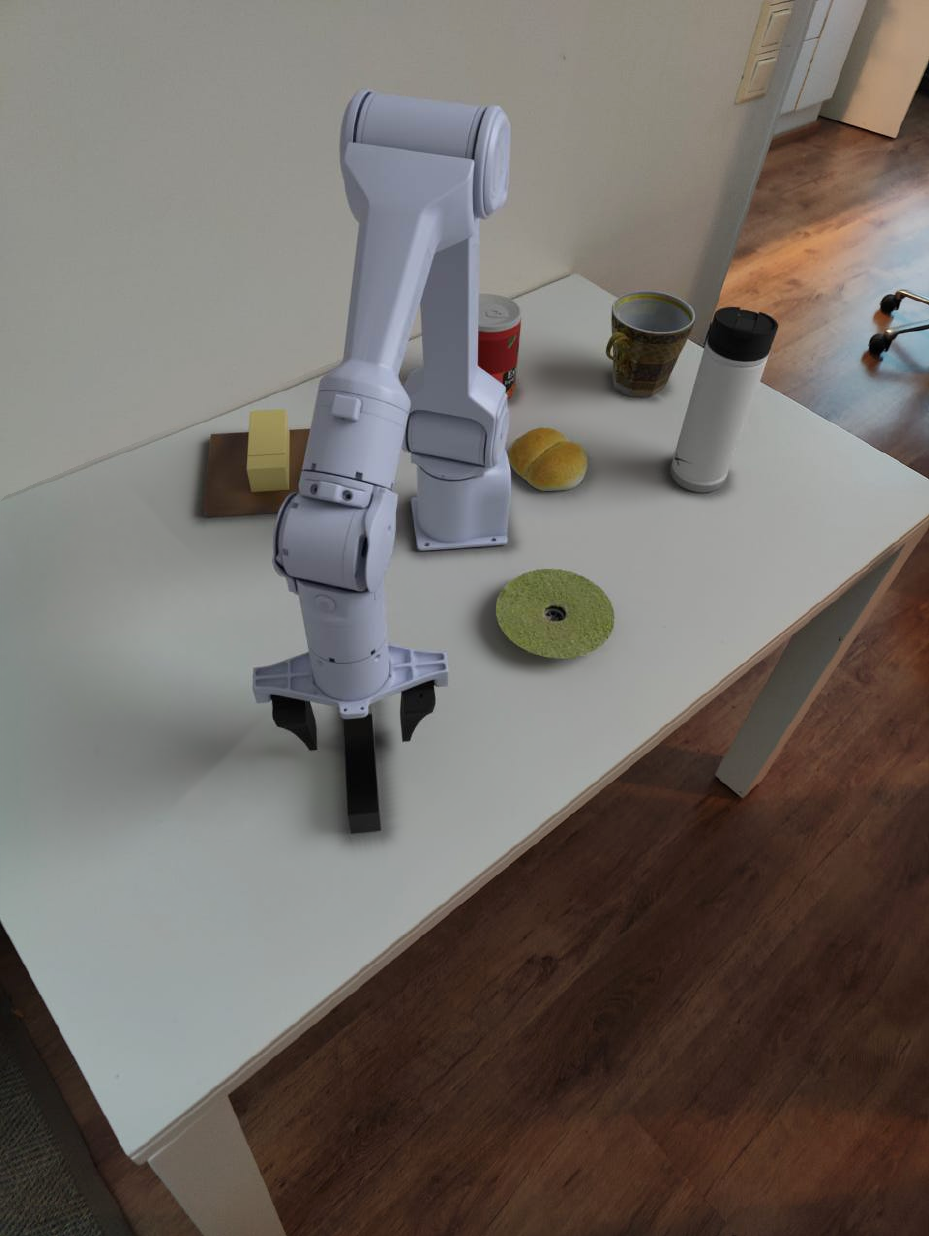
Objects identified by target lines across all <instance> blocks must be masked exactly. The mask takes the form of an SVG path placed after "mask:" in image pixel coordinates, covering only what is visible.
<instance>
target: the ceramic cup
mask: <svg viewBox="0 0 929 1236" xmlns="http://www.w3.org/2000/svg"><path fill="white" fill-rule="evenodd" d="M610 317H611V320H610V321H611V336H610V337H609V339H608V341H607V345H606V347H605V355H606V357H607V359H609V360H611V361H612V379H613V385H614V389H616V390H617V391H619V392H621V393H622V394H624V395H626V396H628V397H631V398H652V397H653V396H655V395H657V394H658V393H660V392H662V391H663V390H664V389H665V388H666V386H667V383H668V382H669V379H670V377H671V375H672V372H673V371H674V368H675V366H676V364H677V362H678V360H679V357H680V355H681V353H682V351H683V349H684V347H685V345H686V343H687V342H688V339H689V337H690V335H691V333H692V330H693V326H694V324H695V323H696V312H695V310H694V308H693V307H692V306H691V305H690V303H688V302H687V301H685V300H684V299H681V298H679V297H678V296H675V295H672V294H671V293H670V294H669V293H666V292H661V291H656V290H655V291H654V290H637V291H631V292H628V293H625V294H622V295H620V296H618V297H617V298H616V299H615V300H614V301H613V303H612V305H611V316H610ZM611 351H612V353H611Z"/></svg>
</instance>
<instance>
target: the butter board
mask: <svg viewBox="0 0 929 1236" xmlns="http://www.w3.org/2000/svg"><path fill="white" fill-rule="evenodd" d="M289 432H290V435H289V490H279V491H263V492H251V487H250V483H249V478H248V474H247V457H248V456H247V453H248V437H249V431H242V432H222V433H210V439H209V446H208V448H209V449H208V455H207V456H208V458H207V465H206V473H205V474H206V475H205V484H204V493H203V502H202V503H203V504H202V513H203V516H204V518H217V517H230V516H232V517H233V516H247V515H263V514H278V512H279V510H280V507H281V505H282V503H283V502H284V500H285V499H286V497H287V496H288V495H289V494H291V493H293V492H297V493H299V481H300V476H301V472H302V467H303V462H304V457H305V452H306V447H307V442H308V437H309V432H310V428H297V429H296V428H294V429H289Z"/></svg>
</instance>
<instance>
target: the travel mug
mask: <svg viewBox="0 0 929 1236" xmlns="http://www.w3.org/2000/svg"><path fill="white" fill-rule="evenodd" d="M778 330H779V323H778V321H777V320H776V319H775V318H774V317H773V316H771V315H769V314H767V313H764V312H762V311H758V312H756V311H752V310H748V309H741V306H726V307H721V308H719V309H717V310H716V311H715V312H714V314H713V318H712V322H711V324H710V328H709V332H708V336H707V337H706V340H705V345H704V348H703V351H702V354H701V358H700V362H699V365H698V369H697V372H696V376H695V380H694V383H693V386H692V391H691V394H690V397H689V401H688V405H687V407H686V412H685V415H684V419H683V423H682V424H681V425H682V426H681V429H680V433H679V436H678V440H677V444H676V446H675V451H674V454H673V457H672V461H671V464H670V469H669V470H670V471H669V472H670V473H669V474H670V476H671V478H672V479H673V481H674V482H675V483H676V484H677V485H679V486H680V487H682V488H683V489H685V490H688V491H691V492H695V493H711V492H714V491H717V490H719V489H720V488H721V487H722V486H723V485H724V484H725V482H726V479H727V476H728V473H729V471H730V467H731V465H732V462H733V459H734V456H735V453H736V451H737V448H738V445H739V443H740V439H741V436H742V433H743V431H744V428H745V425H746V422H747V419H748V417H749V414H750V411H751V408H752V405H753V402H754V400H755V397H756V394H757V391H758V388H759V385H760V384H761V383H760V382H761V380H762V376H763V374H764V371H765V368H766V365H767V362H768V359H769V356H770V354H771V349H772V345H773V343H774V341H775V338H776V336H777V332H778Z"/></svg>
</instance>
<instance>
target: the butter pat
mask: <svg viewBox="0 0 929 1236" xmlns="http://www.w3.org/2000/svg"><path fill="white" fill-rule="evenodd" d="M247 474H248V478H249V483H250V487H251V492H263V491H279V490H289V473H288V467H287V461H286V455H285V454H278V455H260V456H248V457H247Z"/></svg>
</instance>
